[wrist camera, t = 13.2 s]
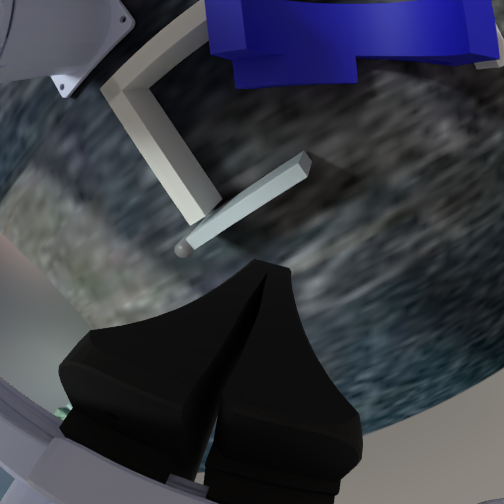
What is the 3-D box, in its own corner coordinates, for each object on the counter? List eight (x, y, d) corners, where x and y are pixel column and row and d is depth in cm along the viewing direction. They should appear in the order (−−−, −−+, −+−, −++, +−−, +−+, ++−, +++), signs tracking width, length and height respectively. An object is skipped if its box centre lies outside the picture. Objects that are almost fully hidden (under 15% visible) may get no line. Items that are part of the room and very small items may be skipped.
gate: (197, 221, 22) (171, 248, 18) (303, 148, 18) (296, 163, 14) (205, 231, 22) (181, 260, 18) (312, 161, 18) (307, 179, 15)
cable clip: (250, 89, 17) (214, 88, 12) (242, 19, 15) (203, -8, 10) (455, 90, 14) (502, 93, 9) (447, 19, 12) (490, -5, 7)
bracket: (127, 86, 18) (99, 89, 16) (397, -73, 9) (405, -95, 7) (208, 207, 21) (190, 225, 18) (490, 63, 12) (514, 61, 10)
